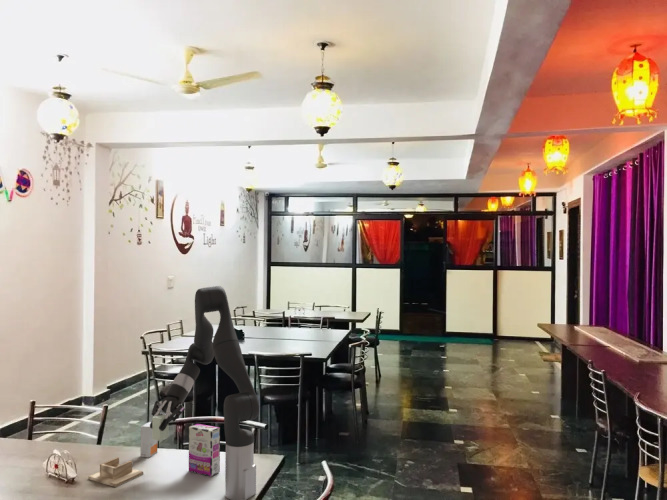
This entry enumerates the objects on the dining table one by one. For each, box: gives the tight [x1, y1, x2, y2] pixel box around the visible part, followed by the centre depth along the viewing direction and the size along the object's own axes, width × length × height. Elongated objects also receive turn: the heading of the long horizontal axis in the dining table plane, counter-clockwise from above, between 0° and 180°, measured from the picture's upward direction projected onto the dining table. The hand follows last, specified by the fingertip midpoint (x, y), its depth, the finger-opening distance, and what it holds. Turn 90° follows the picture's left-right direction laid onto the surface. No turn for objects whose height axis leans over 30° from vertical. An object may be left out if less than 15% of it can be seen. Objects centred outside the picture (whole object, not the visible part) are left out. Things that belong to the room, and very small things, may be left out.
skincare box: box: [139, 421, 159, 458], centre depth 209 cm, size 6×4×12 cm
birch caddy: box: [87, 456, 144, 488], centre depth 187 cm, size 14×12×5 cm
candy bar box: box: [188, 423, 221, 477], centre depth 192 cm, size 11×5×16 cm, turn 62°
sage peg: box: [151, 414, 169, 442], centre depth 193 cm, size 4×4×8 cm
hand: (156, 428), depth 191 cm, fingers closed on sage peg, 4 cm apart
